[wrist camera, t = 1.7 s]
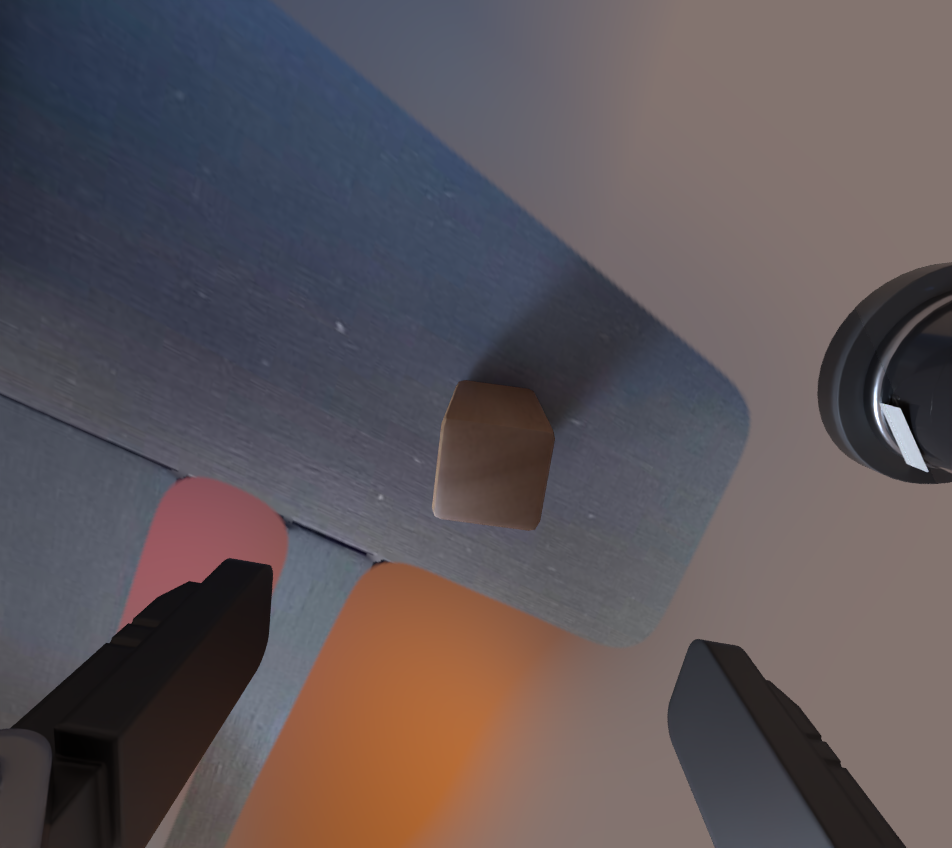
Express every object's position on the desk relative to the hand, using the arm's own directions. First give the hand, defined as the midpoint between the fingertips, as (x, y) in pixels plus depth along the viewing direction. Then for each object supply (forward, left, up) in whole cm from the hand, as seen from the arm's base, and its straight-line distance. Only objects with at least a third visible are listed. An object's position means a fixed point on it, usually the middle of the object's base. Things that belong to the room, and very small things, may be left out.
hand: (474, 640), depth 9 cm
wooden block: (0, 0, -16) cm, 16 cm away
